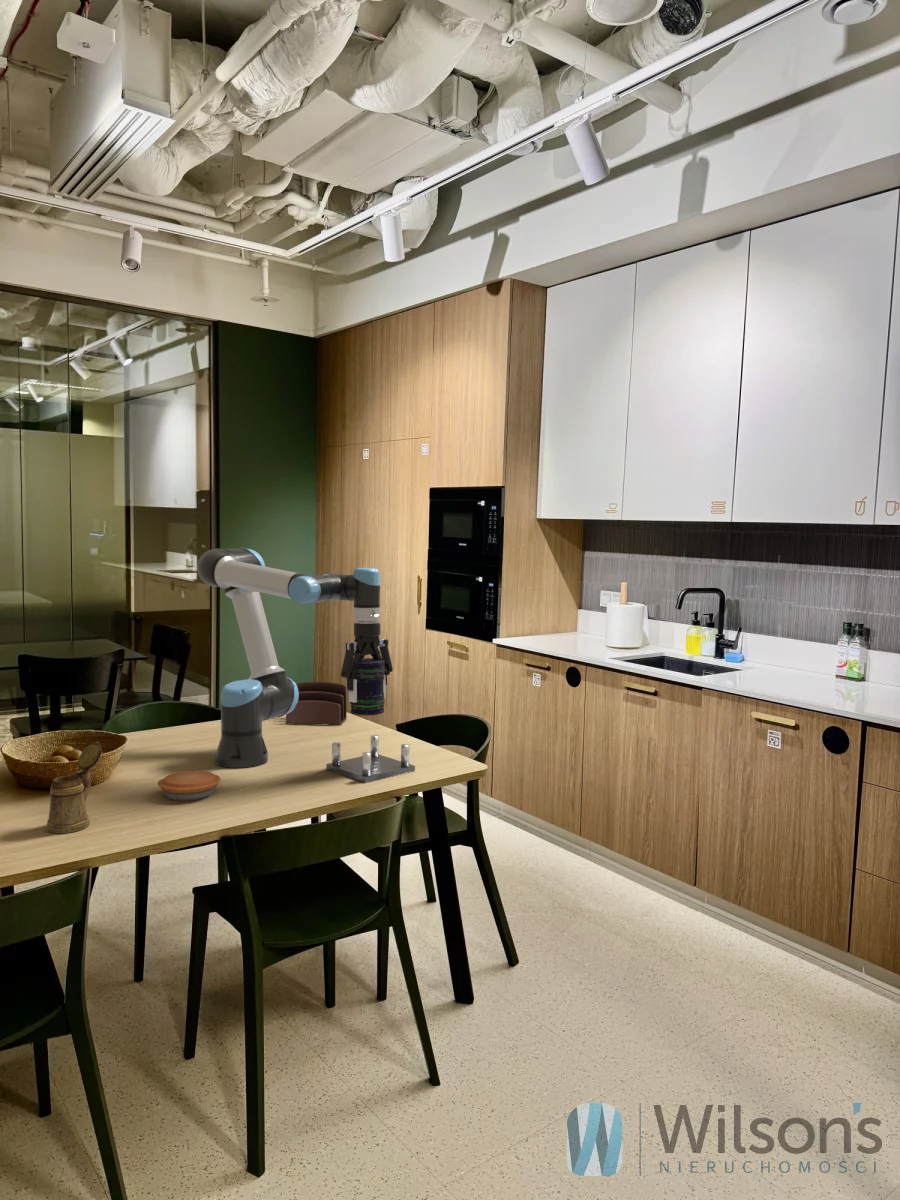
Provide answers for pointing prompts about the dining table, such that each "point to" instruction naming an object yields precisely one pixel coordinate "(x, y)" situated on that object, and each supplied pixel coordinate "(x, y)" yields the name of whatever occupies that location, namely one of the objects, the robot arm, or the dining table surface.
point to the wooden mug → (72, 795)
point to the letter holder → (319, 704)
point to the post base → (376, 768)
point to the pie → (189, 785)
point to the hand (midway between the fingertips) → (367, 699)
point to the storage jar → (369, 688)
